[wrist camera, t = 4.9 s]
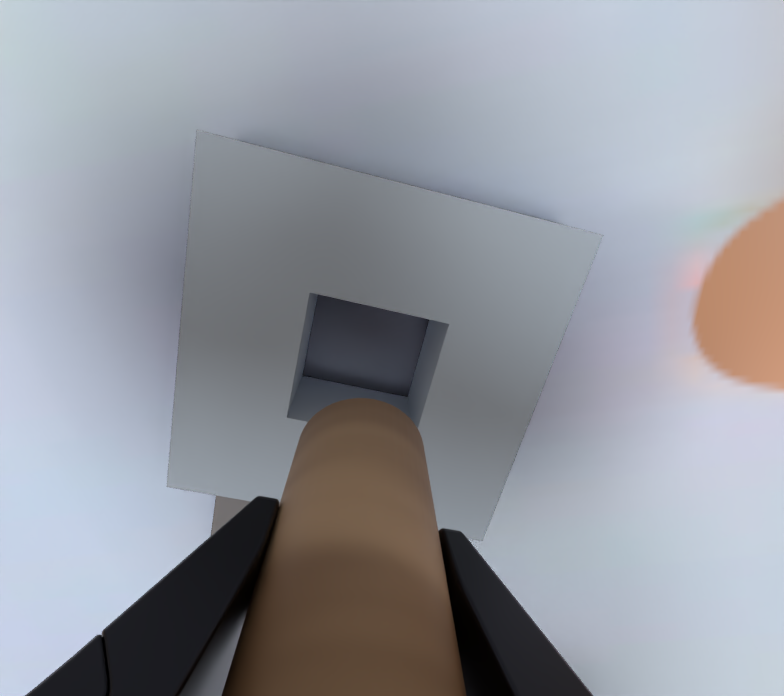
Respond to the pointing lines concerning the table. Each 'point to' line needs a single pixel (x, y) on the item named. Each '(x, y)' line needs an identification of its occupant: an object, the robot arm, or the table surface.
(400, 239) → the socket block
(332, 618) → the peg
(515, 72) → the table surface
